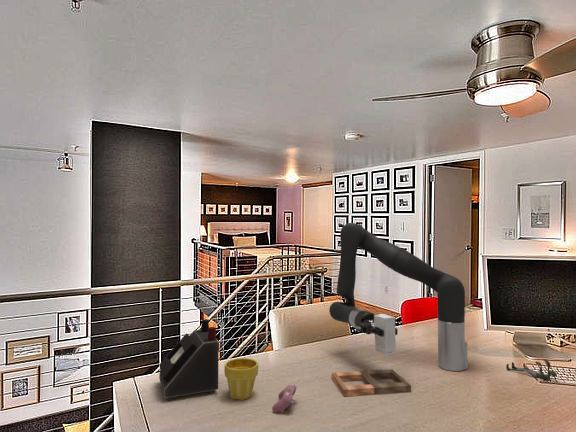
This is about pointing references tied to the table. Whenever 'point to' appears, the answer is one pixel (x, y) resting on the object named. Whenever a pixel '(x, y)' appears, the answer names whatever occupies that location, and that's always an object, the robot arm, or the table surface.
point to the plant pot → (241, 377)
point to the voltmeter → (191, 364)
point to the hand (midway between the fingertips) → (389, 332)
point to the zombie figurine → (534, 373)
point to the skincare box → (385, 334)
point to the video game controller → (284, 398)
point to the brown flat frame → (370, 382)
